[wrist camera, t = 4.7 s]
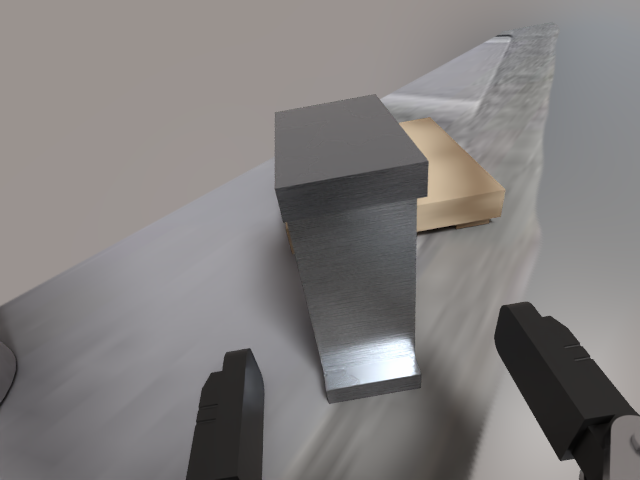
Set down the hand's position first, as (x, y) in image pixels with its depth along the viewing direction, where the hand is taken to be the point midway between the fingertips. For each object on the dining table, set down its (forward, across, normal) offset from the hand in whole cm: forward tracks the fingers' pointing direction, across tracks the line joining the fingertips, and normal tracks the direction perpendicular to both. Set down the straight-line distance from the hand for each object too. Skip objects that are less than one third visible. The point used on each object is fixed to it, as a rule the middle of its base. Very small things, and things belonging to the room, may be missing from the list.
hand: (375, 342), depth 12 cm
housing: (+6, 0, +7) cm, 9 cm away
